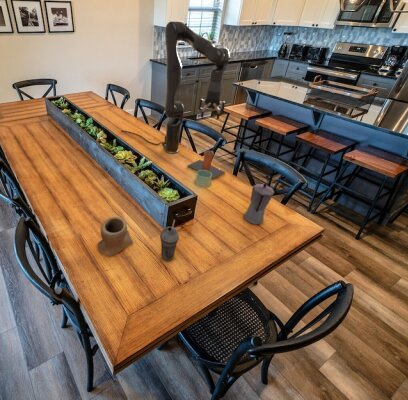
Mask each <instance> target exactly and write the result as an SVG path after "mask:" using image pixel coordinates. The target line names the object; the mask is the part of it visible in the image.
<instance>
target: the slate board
mask: <svg viewBox="0 0 408 400" xmlns="http://www.w3.org/2000/svg"><path fill="white" fill-rule="evenodd" d="M202 166H203V160H201V159H198V160H196V161H194V162H191V163H189V164H187V167H188V168H190V169H191V170H193V171H195V172H197V171H199V170H203V169H202ZM208 171H210V172H211V173H212V178H211V181H213V180H216V179H217V178H219V177H221V176H222V175H224V174H225V173H226V171H225V170H222V169H220V168H218V167H216V166H214V165H213V164H211V168H210V170H208Z"/></svg>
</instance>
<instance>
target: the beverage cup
mask: <svg viewBox="0 0 408 400" xmlns="http://www.w3.org/2000/svg"><path fill="white" fill-rule="evenodd" d="M172 221H173V222H172V226H165V227H164V228H163V229H162V230H161V232H160V235H159V238H160V243H161V245H160V246H161V249H160V250H161V258H162V260H163V261H164V262H171V261H172V260H174V256H175V252H176V248H177V244H178V242H179V239H180V236H179V235H180V233H179V232H178V230H177V229H176V228H175V227H174V226H175V223H176V219H173V220H172Z"/></svg>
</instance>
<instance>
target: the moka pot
mask: <svg viewBox="0 0 408 400" xmlns="http://www.w3.org/2000/svg"><path fill="white" fill-rule="evenodd" d="M274 194H275V191H274V189H273V188H272V187H270V186H268V184H266V183H262V184H261V183H256V184H254V185H253V186H252V190H251V196H250V204H249V206H248V207H247V209H246V211H245V213H244V217H243V218H244V219H245V220H246V221H247V223H250V224H252V225H260V224H262V223H263V221H264V217H265V211H266V208H267V206H268V205H269V203H270V201H271V200H272V198H273V195H274Z"/></svg>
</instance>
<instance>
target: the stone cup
mask: <svg viewBox="0 0 408 400" xmlns="http://www.w3.org/2000/svg"><path fill="white" fill-rule="evenodd" d="M100 237H101V239H100V240H99V241H98V242H97V244H96V246H97V250H98V251H99V252H100V253H101V254H102V256H106V257H111V256H115V255H116V254H118V253H120V252H121V251H123V250H124V249H126V248H127V247H129V246H130V245H132V244H133V238H132V237H131V236H130V232H129V230H128V225H127V222H126V221H125V219H124V218H122V217H120V216H111V217H108V218H107V219H105V220H104V221H103V222H102V224H101V226H100Z"/></svg>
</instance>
